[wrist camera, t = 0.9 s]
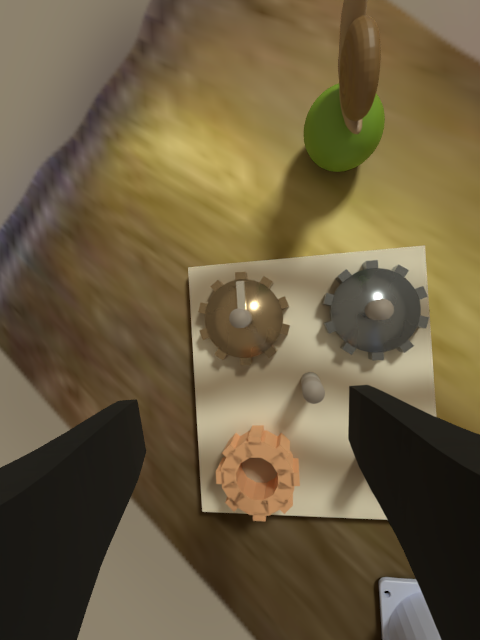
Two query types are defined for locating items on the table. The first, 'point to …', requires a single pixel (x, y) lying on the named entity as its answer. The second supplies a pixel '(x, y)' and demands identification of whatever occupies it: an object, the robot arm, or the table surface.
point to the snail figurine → (349, 98)
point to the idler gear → (255, 494)
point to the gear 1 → (264, 318)
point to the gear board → (303, 380)
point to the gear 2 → (375, 333)
